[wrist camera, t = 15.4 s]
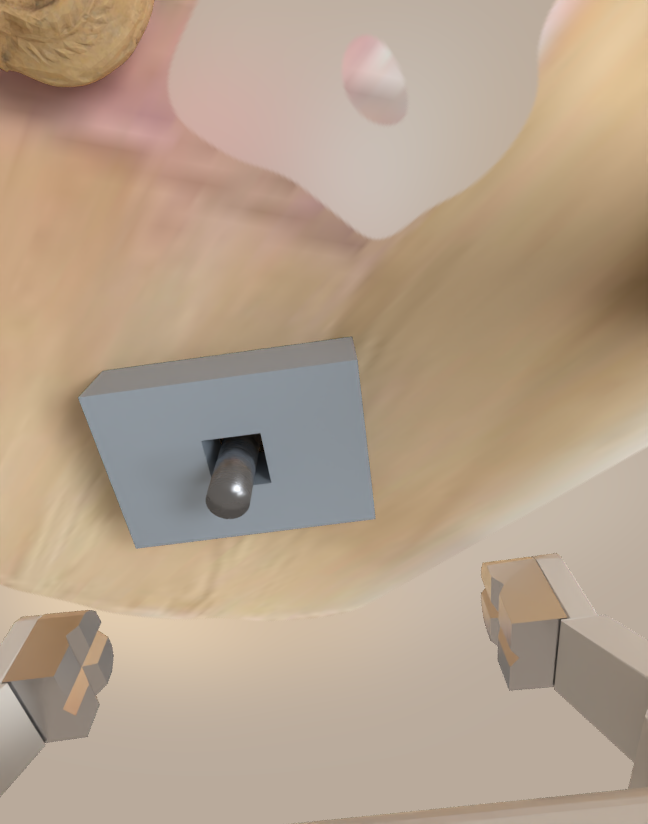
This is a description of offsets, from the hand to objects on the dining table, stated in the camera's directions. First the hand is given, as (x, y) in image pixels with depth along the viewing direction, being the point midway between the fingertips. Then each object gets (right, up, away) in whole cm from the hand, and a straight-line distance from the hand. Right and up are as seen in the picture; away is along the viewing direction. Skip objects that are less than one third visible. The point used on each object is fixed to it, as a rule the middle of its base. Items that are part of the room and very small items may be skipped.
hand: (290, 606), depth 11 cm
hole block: (-6, +2, +33) cm, 34 cm away
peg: (-6, +2, +33) cm, 34 cm away
